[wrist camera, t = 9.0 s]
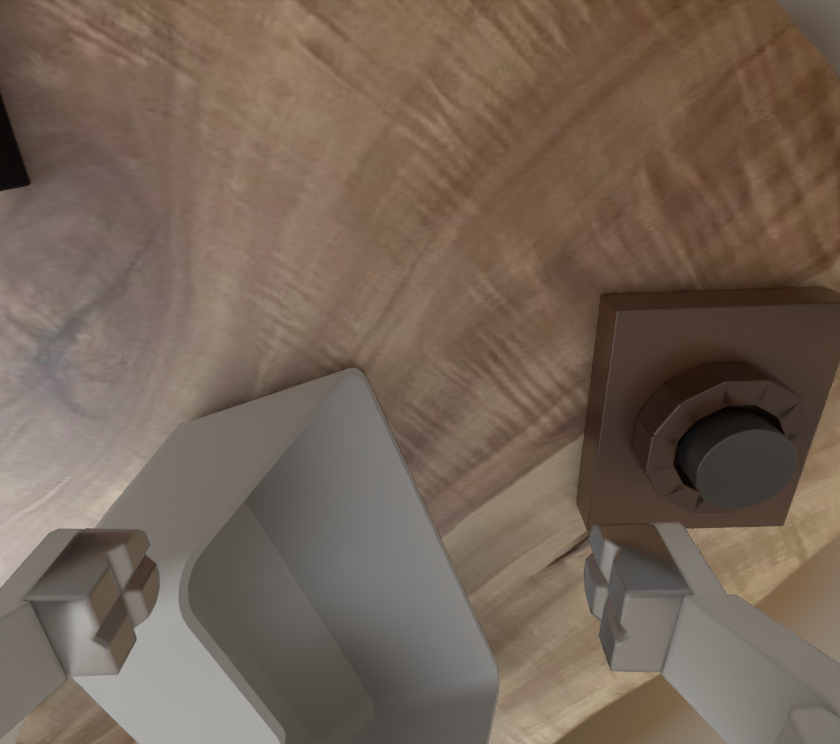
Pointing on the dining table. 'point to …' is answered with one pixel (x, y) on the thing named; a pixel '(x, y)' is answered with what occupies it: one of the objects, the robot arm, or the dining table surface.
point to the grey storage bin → (296, 586)
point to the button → (736, 458)
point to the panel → (10, 157)
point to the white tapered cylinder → (13, 733)
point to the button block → (699, 394)
